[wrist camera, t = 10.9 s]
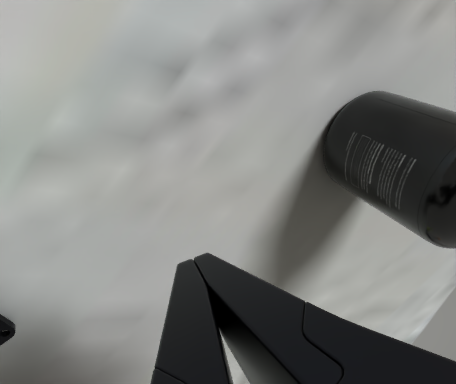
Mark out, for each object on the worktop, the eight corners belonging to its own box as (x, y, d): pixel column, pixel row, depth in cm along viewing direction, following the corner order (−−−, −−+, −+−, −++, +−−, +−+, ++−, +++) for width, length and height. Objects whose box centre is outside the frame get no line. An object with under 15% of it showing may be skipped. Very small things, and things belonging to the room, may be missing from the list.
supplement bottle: (356, 196, 29) (519, 305, 19) (301, 158, 25) (472, 272, 15) (414, 119, 28) (618, 194, 18) (366, 66, 24) (596, 126, 14)
